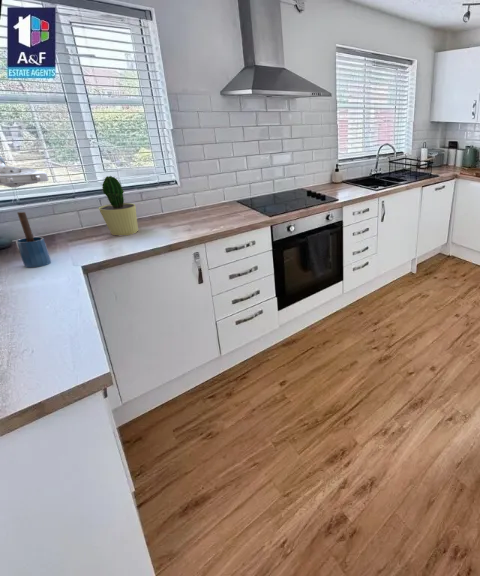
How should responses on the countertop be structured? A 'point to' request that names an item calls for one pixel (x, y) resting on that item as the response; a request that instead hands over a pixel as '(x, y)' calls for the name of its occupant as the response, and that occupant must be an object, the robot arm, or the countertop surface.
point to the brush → (25, 226)
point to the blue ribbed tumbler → (33, 252)
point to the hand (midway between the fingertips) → (25, 179)
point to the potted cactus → (118, 209)
